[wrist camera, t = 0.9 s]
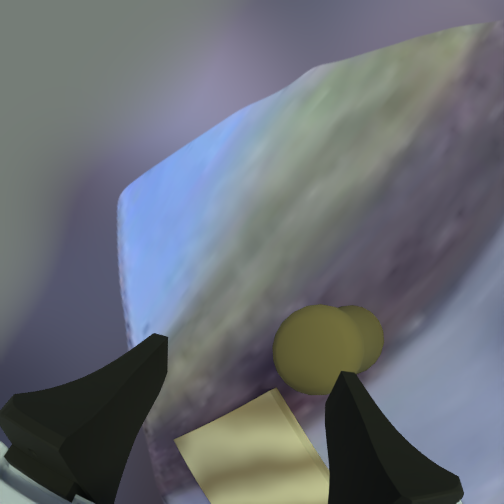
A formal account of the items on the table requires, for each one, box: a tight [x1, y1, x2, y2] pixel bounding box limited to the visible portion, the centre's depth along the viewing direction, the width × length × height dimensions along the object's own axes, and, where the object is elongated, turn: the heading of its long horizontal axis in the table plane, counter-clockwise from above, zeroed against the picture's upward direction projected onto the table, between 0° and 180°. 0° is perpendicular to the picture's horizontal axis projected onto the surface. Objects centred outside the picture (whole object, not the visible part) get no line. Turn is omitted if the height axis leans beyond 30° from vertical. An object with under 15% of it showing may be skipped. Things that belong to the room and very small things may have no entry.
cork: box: [273, 304, 384, 395], centre depth 19 cm, size 6×6×11 cm
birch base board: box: [174, 388, 330, 504], centre depth 24 cm, size 14×14×2 cm
